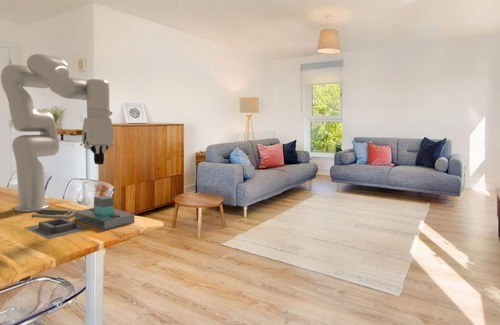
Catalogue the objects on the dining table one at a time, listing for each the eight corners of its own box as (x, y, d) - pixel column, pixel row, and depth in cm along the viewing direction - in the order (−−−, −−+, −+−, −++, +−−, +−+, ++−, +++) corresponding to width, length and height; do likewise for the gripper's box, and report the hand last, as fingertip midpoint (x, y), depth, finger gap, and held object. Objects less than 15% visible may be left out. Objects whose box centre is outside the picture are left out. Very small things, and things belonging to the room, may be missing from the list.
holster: (24, 230, 117) (24, 222, 117) (65, 221, 129) (65, 213, 128) (48, 242, 107) (48, 233, 106) (91, 231, 118) (91, 222, 118)
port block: (75, 221, 128) (74, 211, 128) (104, 215, 138) (104, 205, 138) (104, 232, 117) (104, 221, 116) (134, 224, 127) (134, 213, 126)
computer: (31, 220, 130) (30, 211, 130) (46, 214, 138) (45, 206, 138) (69, 222, 129) (68, 214, 128) (81, 217, 137) (81, 209, 136)
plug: (94, 223, 128) (94, 197, 126) (104, 220, 131) (104, 195, 130) (103, 226, 124) (103, 199, 123) (113, 223, 127) (113, 197, 126)
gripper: (111, 114, 131) (111, 161, 134) (72, 113, 119) (73, 164, 122) (122, 115, 127) (122, 163, 129) (83, 113, 115) (84, 166, 117)
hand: (99, 163), depth 125 cm, fingers closed
